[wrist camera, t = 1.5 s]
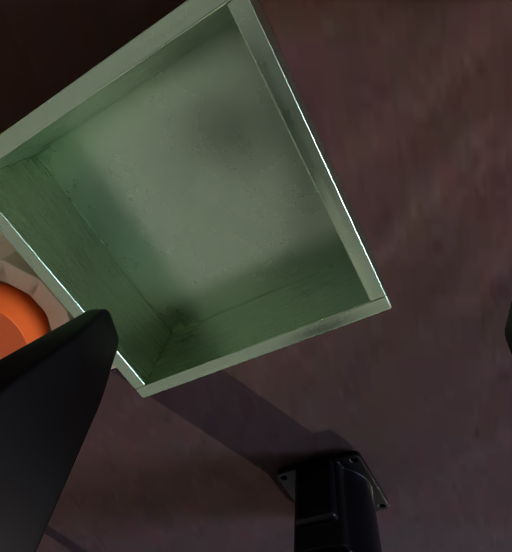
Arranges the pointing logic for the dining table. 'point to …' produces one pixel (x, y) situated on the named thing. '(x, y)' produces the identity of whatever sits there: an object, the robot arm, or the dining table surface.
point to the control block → (31, 284)
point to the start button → (19, 319)
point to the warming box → (188, 200)
